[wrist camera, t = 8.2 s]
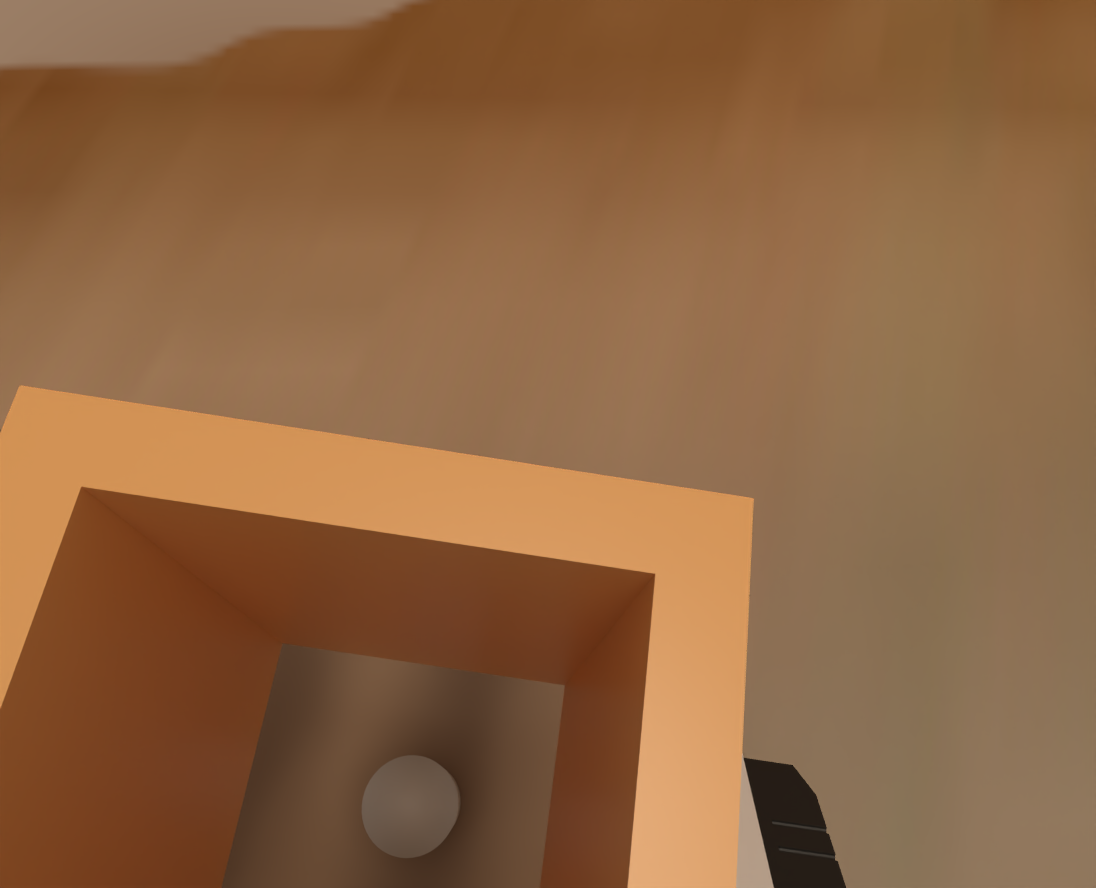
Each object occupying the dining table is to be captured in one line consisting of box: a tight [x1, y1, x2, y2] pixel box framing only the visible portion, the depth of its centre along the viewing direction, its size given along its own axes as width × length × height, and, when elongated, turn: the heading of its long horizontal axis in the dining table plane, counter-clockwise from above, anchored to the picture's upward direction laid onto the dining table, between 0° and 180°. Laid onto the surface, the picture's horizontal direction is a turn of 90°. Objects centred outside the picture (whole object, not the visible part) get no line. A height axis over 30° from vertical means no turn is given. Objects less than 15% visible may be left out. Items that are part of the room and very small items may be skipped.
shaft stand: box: [221, 643, 565, 888], centre depth 25 cm, size 16×14×8 cm
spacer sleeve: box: [0, 385, 754, 888], centre depth 12 cm, size 8×8×10 cm
